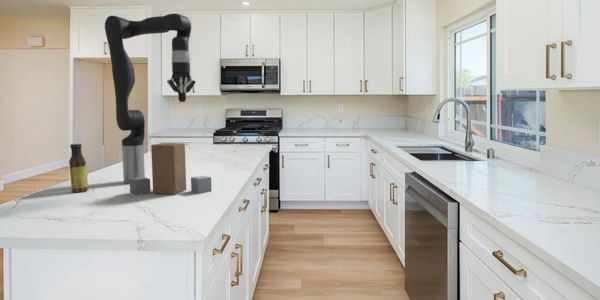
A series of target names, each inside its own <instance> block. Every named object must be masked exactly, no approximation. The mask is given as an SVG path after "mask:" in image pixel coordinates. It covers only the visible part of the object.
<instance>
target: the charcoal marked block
mask: <svg viewBox="0 0 600 300" xmlns="http://www.w3.org/2000/svg"><path fill="white" fill-rule="evenodd" d="M129 193H130V194H131V193H132V194H131V195H133V194H135V195H134V196H141V195H140V194H143V195H149V194H148V193H150V194H151V178H148V177H146V176H145V177H141V178H133V179H130V183H129Z"/></svg>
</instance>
